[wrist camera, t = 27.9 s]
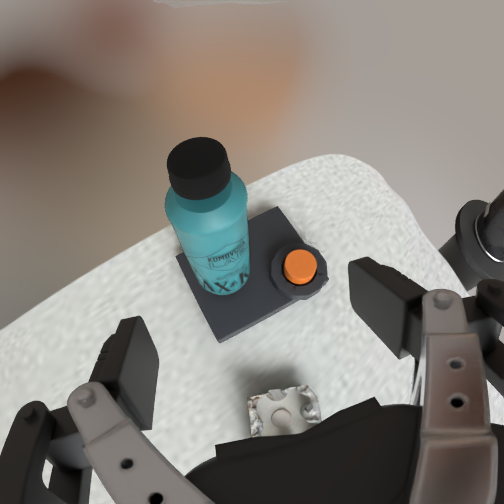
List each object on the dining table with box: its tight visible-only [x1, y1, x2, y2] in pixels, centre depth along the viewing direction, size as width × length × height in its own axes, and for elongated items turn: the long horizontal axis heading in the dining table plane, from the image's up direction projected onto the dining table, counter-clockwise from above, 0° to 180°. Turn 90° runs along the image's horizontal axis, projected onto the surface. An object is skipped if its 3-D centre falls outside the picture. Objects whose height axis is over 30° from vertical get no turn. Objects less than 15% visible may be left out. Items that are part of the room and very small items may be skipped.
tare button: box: [284, 250, 317, 284], centre depth 33 cm, size 4×4×2 cm
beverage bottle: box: [165, 137, 251, 295], centre depth 26 cm, size 6×7×20 cm
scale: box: [176, 206, 329, 343], centre depth 36 cm, size 15×13×4 cm
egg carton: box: [247, 385, 322, 437], centre depth 27 cm, size 11×8×4 cm
